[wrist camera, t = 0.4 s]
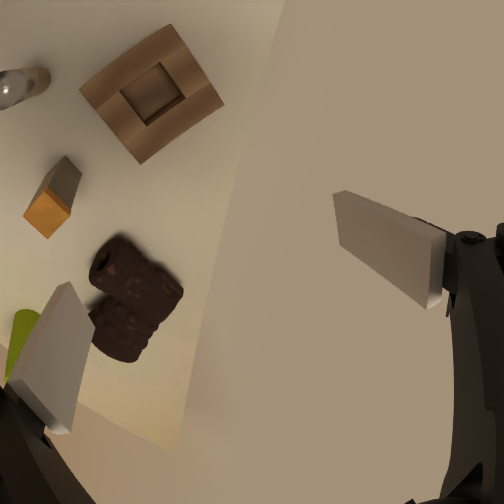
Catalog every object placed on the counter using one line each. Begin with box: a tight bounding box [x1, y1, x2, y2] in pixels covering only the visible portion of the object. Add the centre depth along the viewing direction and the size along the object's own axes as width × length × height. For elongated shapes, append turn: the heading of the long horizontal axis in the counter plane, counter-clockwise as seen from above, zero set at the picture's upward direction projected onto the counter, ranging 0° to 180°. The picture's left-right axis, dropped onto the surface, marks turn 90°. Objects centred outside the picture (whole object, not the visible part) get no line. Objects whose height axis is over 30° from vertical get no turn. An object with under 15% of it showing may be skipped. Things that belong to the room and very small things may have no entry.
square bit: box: [23, 156, 82, 239], centre depth 27 cm, size 4×4×11 cm
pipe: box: [88, 238, 184, 363], centre depth 42 cm, size 10×15×15 cm
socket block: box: [79, 23, 224, 165], centre depth 28 cm, size 11×11×5 cm
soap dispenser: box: [4, 309, 40, 384], centre depth 33 cm, size 6×7×20 cm
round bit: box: [0, 67, 50, 110], centre depth 19 cm, size 3×3×11 cm
